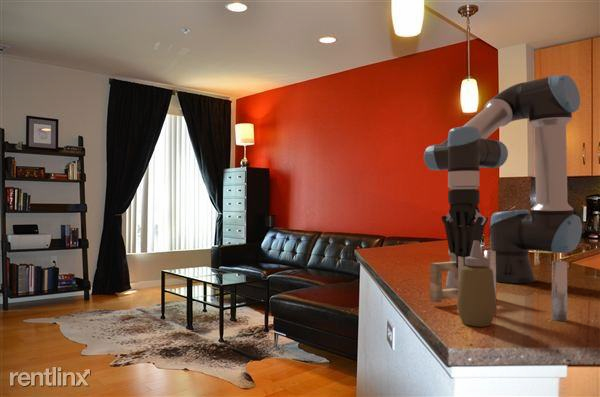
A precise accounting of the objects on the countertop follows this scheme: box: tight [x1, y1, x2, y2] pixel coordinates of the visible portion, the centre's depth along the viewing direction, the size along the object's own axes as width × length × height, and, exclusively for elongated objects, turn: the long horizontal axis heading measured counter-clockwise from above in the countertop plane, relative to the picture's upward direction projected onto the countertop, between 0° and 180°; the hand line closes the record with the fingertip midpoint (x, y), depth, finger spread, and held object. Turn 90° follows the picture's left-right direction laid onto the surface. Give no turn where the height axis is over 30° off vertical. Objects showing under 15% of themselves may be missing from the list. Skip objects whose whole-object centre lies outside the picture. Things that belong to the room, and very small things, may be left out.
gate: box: [429, 261, 488, 304], centre depth 117 cm, size 18×2×10 cm, turn 116°
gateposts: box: [483, 249, 568, 322], centre depth 112 cm, size 25×3×13 cm, turn 18°
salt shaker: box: [445, 250, 456, 289], centre depth 129 cm, size 6×6×13 cm
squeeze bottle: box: [456, 241, 497, 328], centre depth 98 cm, size 8×8×18 cm
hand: (464, 282), depth 114 cm, fingers closed
